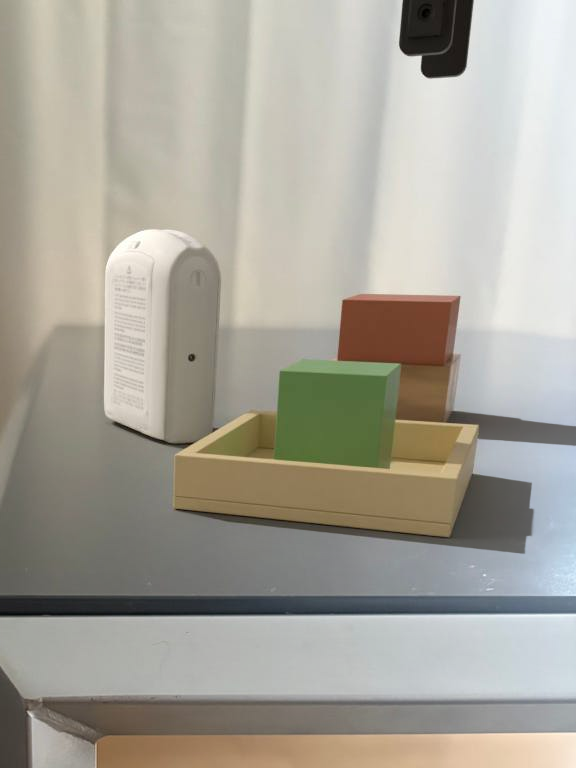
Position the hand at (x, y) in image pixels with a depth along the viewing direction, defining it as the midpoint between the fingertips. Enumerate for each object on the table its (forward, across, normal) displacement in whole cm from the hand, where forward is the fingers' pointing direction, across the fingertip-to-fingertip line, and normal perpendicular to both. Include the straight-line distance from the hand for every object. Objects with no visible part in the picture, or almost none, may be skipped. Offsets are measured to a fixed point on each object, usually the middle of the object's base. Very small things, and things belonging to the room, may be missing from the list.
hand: (434, 66), depth 48 cm
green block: (+19, -6, +2) cm, 20 cm away
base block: (+20, +18, +3) cm, 27 cm away
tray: (+19, -6, +2) cm, 21 cm away
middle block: (+16, +18, +3) cm, 24 cm away
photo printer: (+20, +6, +16) cm, 26 cm away
